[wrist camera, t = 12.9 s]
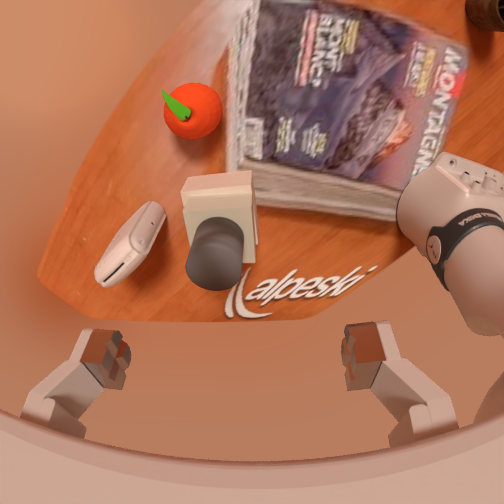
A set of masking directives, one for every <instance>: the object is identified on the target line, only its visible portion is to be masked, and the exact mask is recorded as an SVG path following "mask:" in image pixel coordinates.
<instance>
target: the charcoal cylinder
mask: <svg viewBox="0 0 504 504" xmlns="http://www.w3.org/2000/svg"><path fill="white" fill-rule="evenodd" d="M243 249H244V233H243V231H242V229H241V228H240V226H239V225H238V224H237V223H235V222H234V221H232V220H230V219H228V218H225V217H211V218H208V219H206V220H204V221H203V222H201V223H200V224H199V226H198V227H197V229H196V232H195V235H194V238H193V242H192V245H191V248H190V251H189V255H188V258H187V261H186V272H187V275H188V277H189V278H190V279H191V281H192V282H194V283H195V284H196V285H198V286H199V287H201V288H204V289H207V290H212V291H221V290H226V289H229V288H231V287H233V286H234V285H235V284H236V283H237V282H238V281H239V280H240V277H241V273H242V261H243Z"/></svg>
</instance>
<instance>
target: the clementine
mask: <svg viewBox="0 0 504 504" xmlns="http://www.w3.org/2000/svg"><path fill="white" fill-rule="evenodd" d="M162 94H163V98H164V100H165V102H166V103H165V106H164V118H165V122H166V124H167V125H168V127H169V128H170V130H171V131H172V132H173V133H175V134H176V135H178V136H180V137H183V138H186V139H197V138H201V137H204V136H206V135H208V134H209V133H210V132H212V131H213V130H214V129H215V128H216V127H217V125H218V124H219V122H220V119H221V117H222V104H221V100H220V98H219V96H218V94H217V93H216V92H215V91H214V90H213V89H212V88H210V87H208V86H207V85H203V84H200V83H189V84H184V85H182V86H180V87H178V88H176V89H175V90H174V91H173V92H172V93H171V94H170V95H168V94H167V93H166V92H165V91H164V90H163V89H162Z"/></svg>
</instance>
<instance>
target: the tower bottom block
mask: <svg viewBox="0 0 504 504" xmlns="http://www.w3.org/2000/svg"><path fill="white" fill-rule="evenodd" d="M243 192H252V195H253V208H254V221H255V235H256V244H258V230H259V225H258V217H257V208H256V200H255V191H254V183H253V174H252V170H250V171H239V172H230V173H220V174H211V175H203V176H195V177H188V178H187V180H186V182H185V184H184V186H183V188H182V190H181V197H182V201H183V205H184V207H185V205H186V203H187V200H188V198H189V196H196V195H210V194H225V193H243Z"/></svg>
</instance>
